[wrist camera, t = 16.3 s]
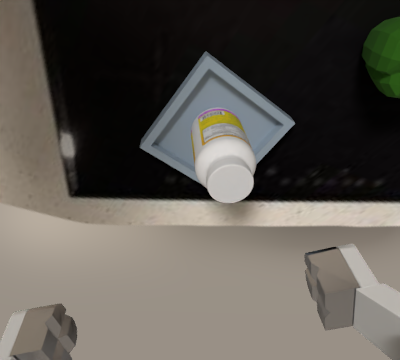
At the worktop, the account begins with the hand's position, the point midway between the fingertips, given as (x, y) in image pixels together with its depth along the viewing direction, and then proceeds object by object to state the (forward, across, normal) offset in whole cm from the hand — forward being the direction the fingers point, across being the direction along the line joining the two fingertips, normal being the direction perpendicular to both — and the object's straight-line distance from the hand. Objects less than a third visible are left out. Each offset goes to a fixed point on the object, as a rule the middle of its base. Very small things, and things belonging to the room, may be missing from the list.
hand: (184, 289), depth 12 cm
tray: (+34, -3, +12) cm, 36 cm away
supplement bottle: (+33, -3, +11) cm, 35 cm away
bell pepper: (+34, -24, +6) cm, 42 cm away
